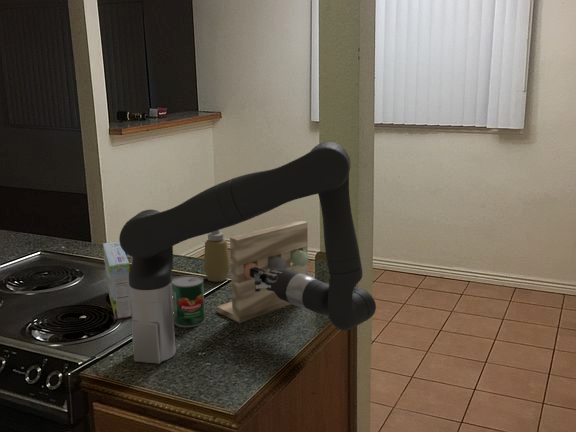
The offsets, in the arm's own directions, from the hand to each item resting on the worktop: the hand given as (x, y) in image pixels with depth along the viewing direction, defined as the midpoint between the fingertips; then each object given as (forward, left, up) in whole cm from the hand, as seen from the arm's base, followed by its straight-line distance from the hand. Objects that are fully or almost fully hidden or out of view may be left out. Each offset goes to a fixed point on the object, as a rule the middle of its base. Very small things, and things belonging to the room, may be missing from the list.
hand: (252, 271), depth 159 cm
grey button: (+7, -5, -2) cm, 8 cm away
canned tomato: (-4, +16, -13) cm, 21 cm away
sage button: (+13, -9, -2) cm, 16 cm away
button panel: (+10, 0, -13) cm, 16 cm away
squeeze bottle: (+27, +19, -13) cm, 35 cm away
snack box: (+3, +39, -13) cm, 41 cm away
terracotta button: (+1, +2, -2) cm, 3 cm away
